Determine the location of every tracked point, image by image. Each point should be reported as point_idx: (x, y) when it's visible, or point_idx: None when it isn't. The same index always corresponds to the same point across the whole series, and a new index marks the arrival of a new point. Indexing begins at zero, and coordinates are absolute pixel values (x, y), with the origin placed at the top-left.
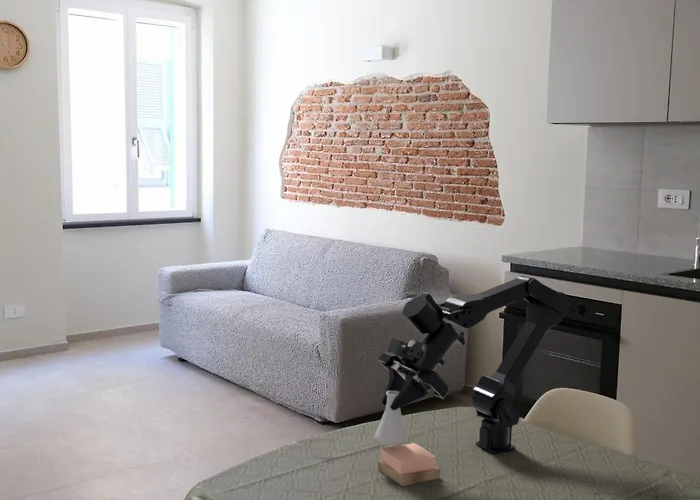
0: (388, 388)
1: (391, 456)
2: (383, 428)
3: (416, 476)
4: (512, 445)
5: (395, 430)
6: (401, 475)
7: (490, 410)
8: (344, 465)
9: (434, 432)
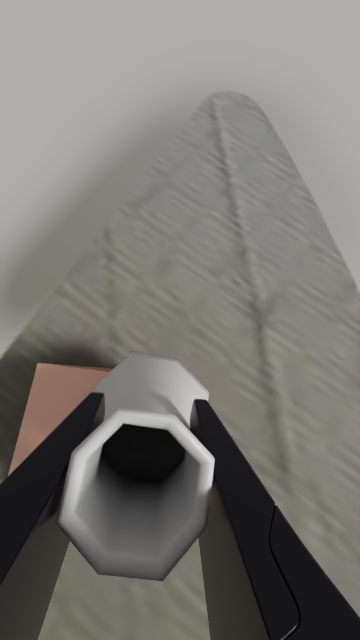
0: (239, 498)
1: (95, 370)
2: (134, 366)
3: None
4: None
5: None
6: (46, 363)
7: None
8: (215, 322)
9: None
